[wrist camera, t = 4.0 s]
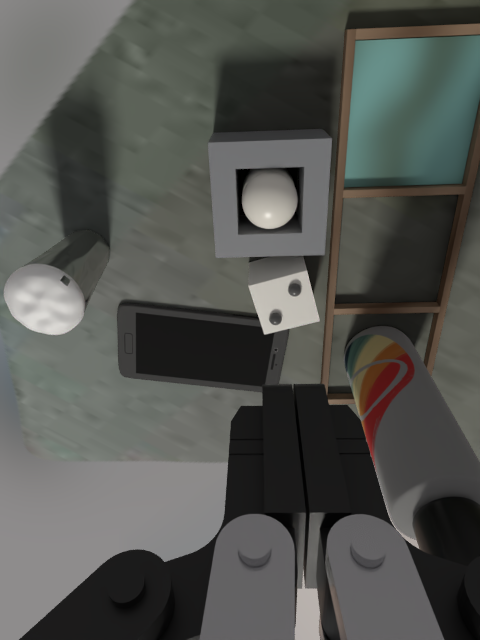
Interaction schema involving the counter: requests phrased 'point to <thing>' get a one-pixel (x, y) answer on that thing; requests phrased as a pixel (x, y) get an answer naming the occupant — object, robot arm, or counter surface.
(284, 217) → the dome
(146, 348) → the cell phone
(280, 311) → the die
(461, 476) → the lotion bottle
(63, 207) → the counter surface
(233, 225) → the button box
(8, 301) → the milkshake
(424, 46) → the track
